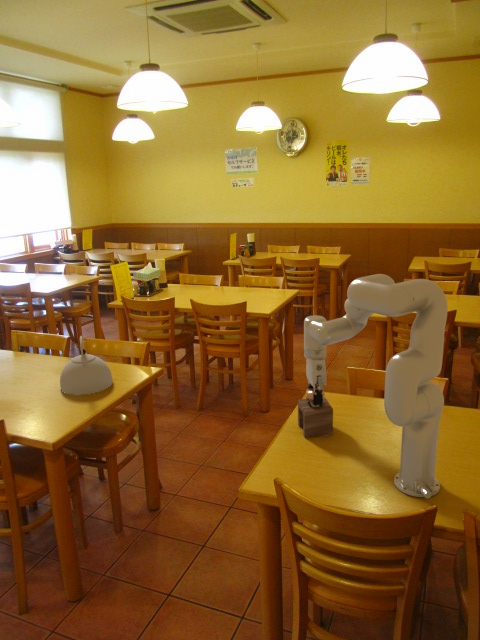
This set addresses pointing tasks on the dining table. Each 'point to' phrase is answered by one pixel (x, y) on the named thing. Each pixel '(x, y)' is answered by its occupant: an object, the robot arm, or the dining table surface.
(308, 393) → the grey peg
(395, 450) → the dining table surface
